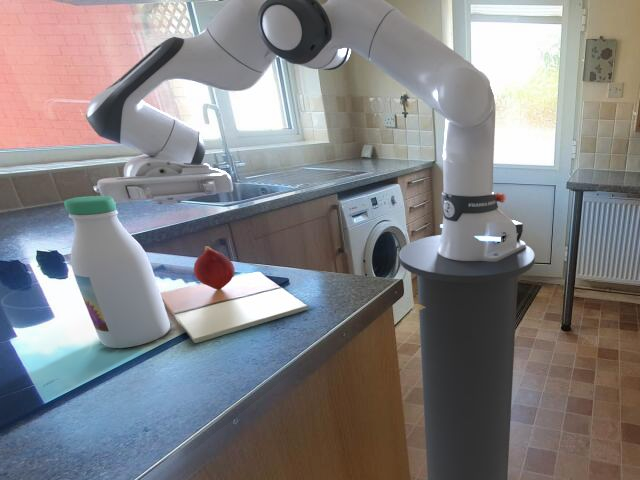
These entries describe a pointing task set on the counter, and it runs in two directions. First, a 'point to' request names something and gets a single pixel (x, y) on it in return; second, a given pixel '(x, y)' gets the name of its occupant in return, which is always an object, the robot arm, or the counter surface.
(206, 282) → the onion
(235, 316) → the sorting board
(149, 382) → the counter surface
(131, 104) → the robot arm
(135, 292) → the milk bottle
